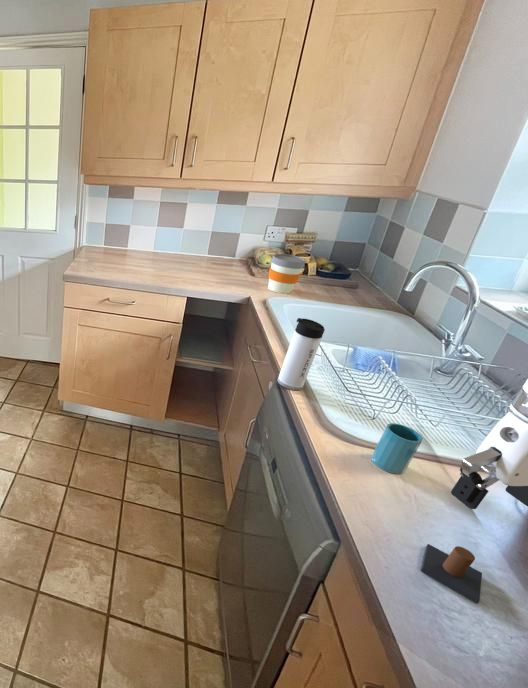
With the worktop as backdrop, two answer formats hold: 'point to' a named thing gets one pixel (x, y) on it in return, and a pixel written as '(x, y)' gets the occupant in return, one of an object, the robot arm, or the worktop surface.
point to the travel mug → (300, 354)
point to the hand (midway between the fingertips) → (490, 499)
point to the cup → (396, 448)
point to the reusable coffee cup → (284, 272)
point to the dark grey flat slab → (453, 570)
